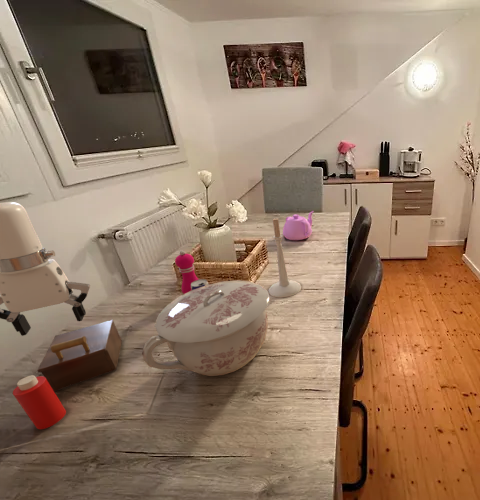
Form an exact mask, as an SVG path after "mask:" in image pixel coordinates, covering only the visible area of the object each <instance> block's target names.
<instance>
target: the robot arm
mask: <svg viewBox="0 0 480 500" xmlns="http://www.w3.org/2000/svg"><path fill="white" fill-rule="evenodd" d="M53 257H56V252H55V251H54V250H47V249H46V248H45V247H43V244H42V242H41V240H40V238H39V236H38V233H37V231H36V230H35V227H34V225H33V223H32V221H31V218H30V217H29V214H28V212H27V210H26V208H25V207H24V206H23V205H22V204H21V203H17V202H13V201H11V202H9V201H8V202H7V201H6V202H0V306H1V305H2V304H4V306H5V307H6V309H3V308H0V319H1V320H5V321H6V322H7V323H11V325H12V326H13V328H14V329H15V331H16V332H17V333H19V334H20V336H21V337H24V336H26V335H28V333H29V331H30V330H32V329H31V328H32V327H31V325H30V323H29V321H28V319H27V317H26V316H25V315H24V314H23V313H24V312H29V311H33V310H38V309H43V308H47V307H51V306H56V305H60V304H63V303H65V304H67V305H70V306H72V308H71V310H72V313H73V315H74V317H75V320H76V321H77V322H82V321H83V319H84V317H85V316H86V315H87V311H86V309H85V307H84V304H83V302H84V301H85V300H86V298H87V297H88V295H89V292H90V288H91V285H90V284H89V283H83V282H75V281H70V280H69V278H68V277H67V275H66V273H65V272H64V270H63V269H62V267H61V266H60V264H59V263H58V262H57V261H56V260H55V259H53ZM74 290H76V291H77V290H78V291H80V294H79V295H76V294H75V293H74Z"/></svg>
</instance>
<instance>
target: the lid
mask: <svg viewBox="0 0 480 500" xmlns="http://www.w3.org/2000/svg"><path fill="white" fill-rule="evenodd" d="M113 322H114V319H111V320H110V319H109V320H107V321H103V322H99V323H96V324H93V325H89V326H86V327H85V326H84V327H82V328H78V329H75V330H71V331H68V332H63V333H60V334H56V335H55V336H54V338H53V339H52V341H51V343H50V345H49V346H48V348H47V351H46V353H45V354H44V356H43V358H42V361H41V362H40V364H39V365H38V368H37V370H36V371H37V372H38V373H41V372H42V371H45V370H48V369H52V368H55V367H58V366H61V365H64V364H67V363H70V362H73V361H77V360H80V359H83V358H86V357H89V356H92V355H95V354H98V353H102V352H105V351H106V350H107V346H108V342H109V338H110V334H111V330H112V326H113Z"/></svg>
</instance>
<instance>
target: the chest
mask: <svg viewBox="0 0 480 500" xmlns="http://www.w3.org/2000/svg"><path fill="white" fill-rule="evenodd" d="M120 335H121V334H120V333H119V331H118V329H117V327H116V323H115V322H114V321H113V326H112V330H111V334H110V338H109V342H108V346H107V350H106V351H105V352H102V353H98V354H95V355H92V356H89V357H86V358H83V359H80V360H77V361H73V362H70V363H67V364H64V365H61V366H58V367H55V368H52V369H48V370H45V371H42V372H40V373H41V375H42V376H43V377H45V378H46V379H47V381H48V383H49V384H50V386H51V387H52V389H53V391H54V392H57V391H60V390H62V389H65V388H68V387H71V386H73V385H74V386H75V385H77V384H80V383H82V382H85V381H88V380H91V379H94V378H97V377H99V376H102V375H103V376H104V375H105V374H108V373H111V372H114V371H116V370H117V368H118V363H119V358H120V354H121V347H122V337H121V336H120Z"/></svg>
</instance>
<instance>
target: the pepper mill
mask: <svg viewBox="0 0 480 500" xmlns="http://www.w3.org/2000/svg"><path fill="white" fill-rule="evenodd" d="M174 261H175V262H174V263H175V266H176V267H178V270H179V273H181V276H182V281H181V289H180V290H181V293H182V295H184V294H186V293H188V292H190V291H192V289H191V283H192V282H194V281H196V280H200V279H199V278H198V277H197V275H196V273H195V265H194V263H195V259H194V256H193V255H192V254H190V253H186V251H185V250H182V249H181V250H180V251H179V255H177V256H176V257H175V259H174Z"/></svg>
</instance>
